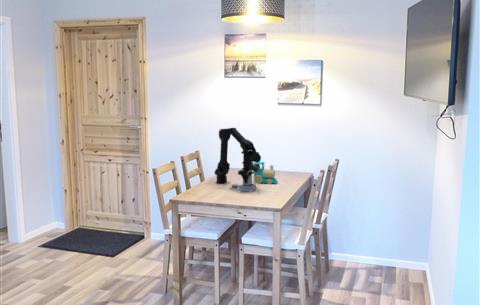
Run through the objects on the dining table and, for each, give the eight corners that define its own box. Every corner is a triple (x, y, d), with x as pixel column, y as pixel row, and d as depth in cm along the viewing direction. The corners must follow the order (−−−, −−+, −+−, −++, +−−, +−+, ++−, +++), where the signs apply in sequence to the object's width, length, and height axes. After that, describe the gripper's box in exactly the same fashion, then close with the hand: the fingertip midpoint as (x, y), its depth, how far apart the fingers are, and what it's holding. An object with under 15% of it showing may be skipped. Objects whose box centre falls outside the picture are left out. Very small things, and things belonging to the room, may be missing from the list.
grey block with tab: (242, 184, 317) (242, 175, 316) (245, 183, 321) (245, 174, 320) (249, 185, 315) (249, 175, 314) (251, 184, 319) (251, 174, 318)
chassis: (230, 189, 317) (230, 184, 317) (236, 186, 327) (236, 181, 327) (250, 191, 311) (250, 187, 311) (256, 188, 321) (256, 183, 321)
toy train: (276, 184, 333) (276, 164, 331) (253, 183, 337) (253, 163, 335) (278, 182, 341) (278, 162, 339) (255, 181, 345) (256, 161, 343)
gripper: (253, 163, 304) (253, 187, 306) (263, 159, 321) (263, 181, 323) (237, 162, 308) (237, 185, 310) (248, 158, 325) (248, 180, 327)
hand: (247, 183), depth 318 cm, fingers closed on grey block with tab, 4 cm apart
